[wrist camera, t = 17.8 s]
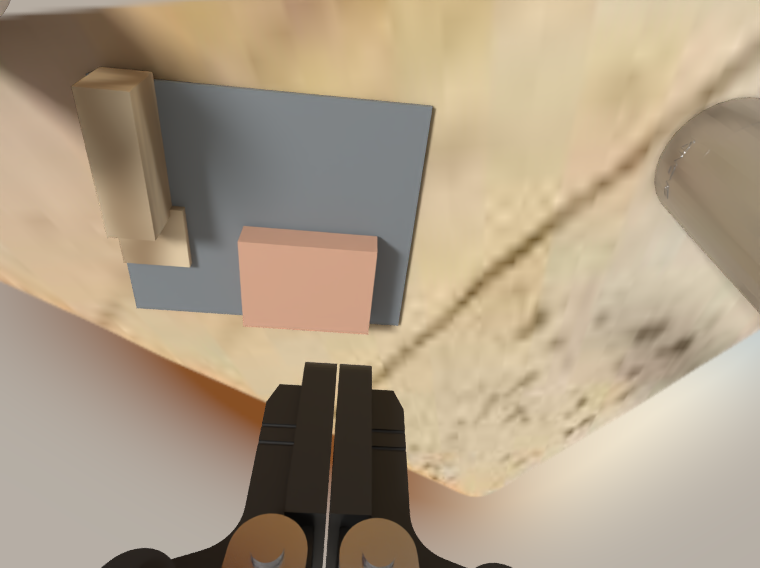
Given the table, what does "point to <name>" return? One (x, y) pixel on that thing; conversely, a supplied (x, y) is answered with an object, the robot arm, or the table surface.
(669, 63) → the table surface
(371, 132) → the mat
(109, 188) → the beige pillar on base
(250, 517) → the robot arm
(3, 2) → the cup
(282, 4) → the table surface
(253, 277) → the tile
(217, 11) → the table surface
